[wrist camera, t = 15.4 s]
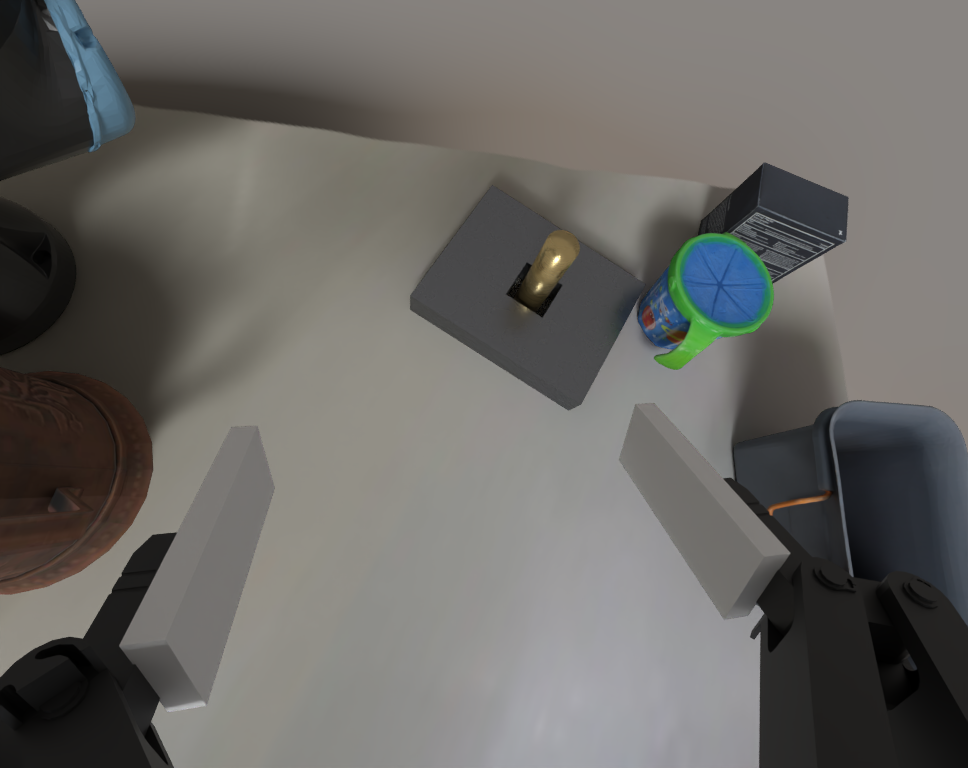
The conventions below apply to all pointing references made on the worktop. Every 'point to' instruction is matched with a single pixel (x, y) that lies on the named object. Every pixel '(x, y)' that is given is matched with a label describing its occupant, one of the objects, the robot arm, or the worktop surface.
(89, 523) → the brown metal pitcher
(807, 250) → the small box
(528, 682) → the worktop surface
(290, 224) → the worktop surface
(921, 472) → the storage bin
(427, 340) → the worktop surface
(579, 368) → the plate
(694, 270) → the snack cup
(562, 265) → the brass pin
